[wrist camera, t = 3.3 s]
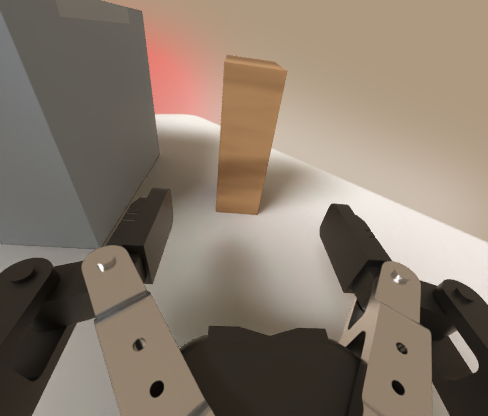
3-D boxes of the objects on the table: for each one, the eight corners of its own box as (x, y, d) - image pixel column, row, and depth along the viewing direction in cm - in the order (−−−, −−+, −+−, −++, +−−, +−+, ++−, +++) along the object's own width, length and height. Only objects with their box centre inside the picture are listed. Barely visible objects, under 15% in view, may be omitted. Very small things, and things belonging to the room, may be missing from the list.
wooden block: (257, 214, 21) (287, 71, 14) (215, 211, 21) (224, 61, 14) (253, 182, 26) (274, 61, 19) (219, 179, 26) (227, 54, 18)
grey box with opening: (100, 249, 16) (-17, -30, 7) (-125, 236, 14) (-592, -126, 6) (159, 154, 28) (142, 10, 20) (42, 143, 27) (-31, -17, 18)
